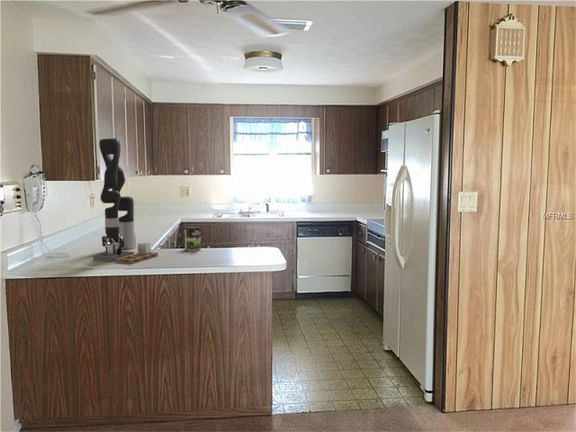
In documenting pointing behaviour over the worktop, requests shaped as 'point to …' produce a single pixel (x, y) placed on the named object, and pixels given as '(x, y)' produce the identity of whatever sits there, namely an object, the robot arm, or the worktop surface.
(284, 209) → the worktop surface
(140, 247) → the block
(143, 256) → the pallet
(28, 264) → the worktop surface
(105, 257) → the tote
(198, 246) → the coffee can
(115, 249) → the block
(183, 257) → the worktop surface
